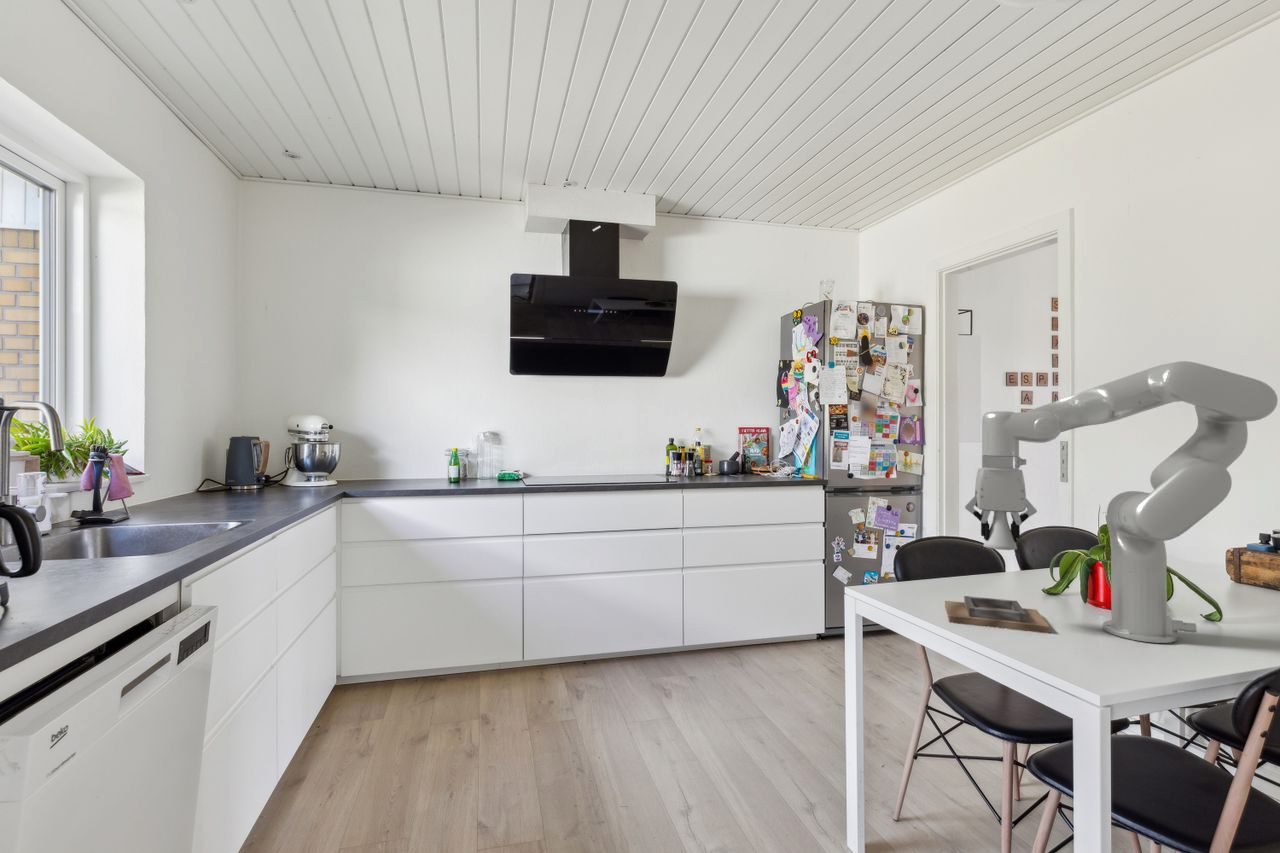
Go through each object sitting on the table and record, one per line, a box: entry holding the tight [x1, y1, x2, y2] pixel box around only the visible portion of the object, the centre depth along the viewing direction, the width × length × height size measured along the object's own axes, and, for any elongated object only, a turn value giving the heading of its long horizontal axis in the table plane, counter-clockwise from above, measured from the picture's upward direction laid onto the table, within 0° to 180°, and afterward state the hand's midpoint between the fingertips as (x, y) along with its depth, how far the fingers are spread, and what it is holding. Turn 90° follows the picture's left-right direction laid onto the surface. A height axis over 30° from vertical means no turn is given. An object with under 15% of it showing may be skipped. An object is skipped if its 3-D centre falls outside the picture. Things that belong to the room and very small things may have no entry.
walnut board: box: [944, 595, 1051, 634], centre depth 144 cm, size 20×14×4 cm
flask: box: [982, 511, 1018, 551], centre depth 141 cm, size 7×7×10 cm
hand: (1000, 539), depth 141 cm, fingers closed on flask, 5 cm apart
